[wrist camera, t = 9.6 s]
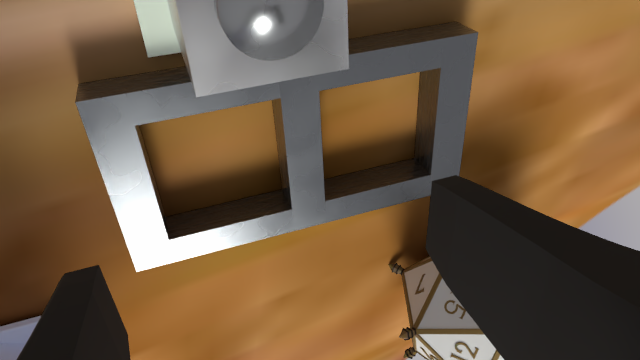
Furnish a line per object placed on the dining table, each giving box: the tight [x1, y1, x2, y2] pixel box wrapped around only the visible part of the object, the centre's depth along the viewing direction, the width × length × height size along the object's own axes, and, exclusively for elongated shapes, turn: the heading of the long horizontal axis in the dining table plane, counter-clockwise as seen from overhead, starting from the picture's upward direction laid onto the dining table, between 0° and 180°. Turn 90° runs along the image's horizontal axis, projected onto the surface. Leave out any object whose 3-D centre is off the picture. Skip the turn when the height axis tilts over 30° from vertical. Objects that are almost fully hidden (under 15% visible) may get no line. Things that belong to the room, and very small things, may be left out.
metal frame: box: [76, 22, 478, 272], centre depth 20 cm, size 15×8×2 cm, turn 93°
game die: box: [388, 256, 504, 360], centre depth 26 cm, size 9×8×10 cm
